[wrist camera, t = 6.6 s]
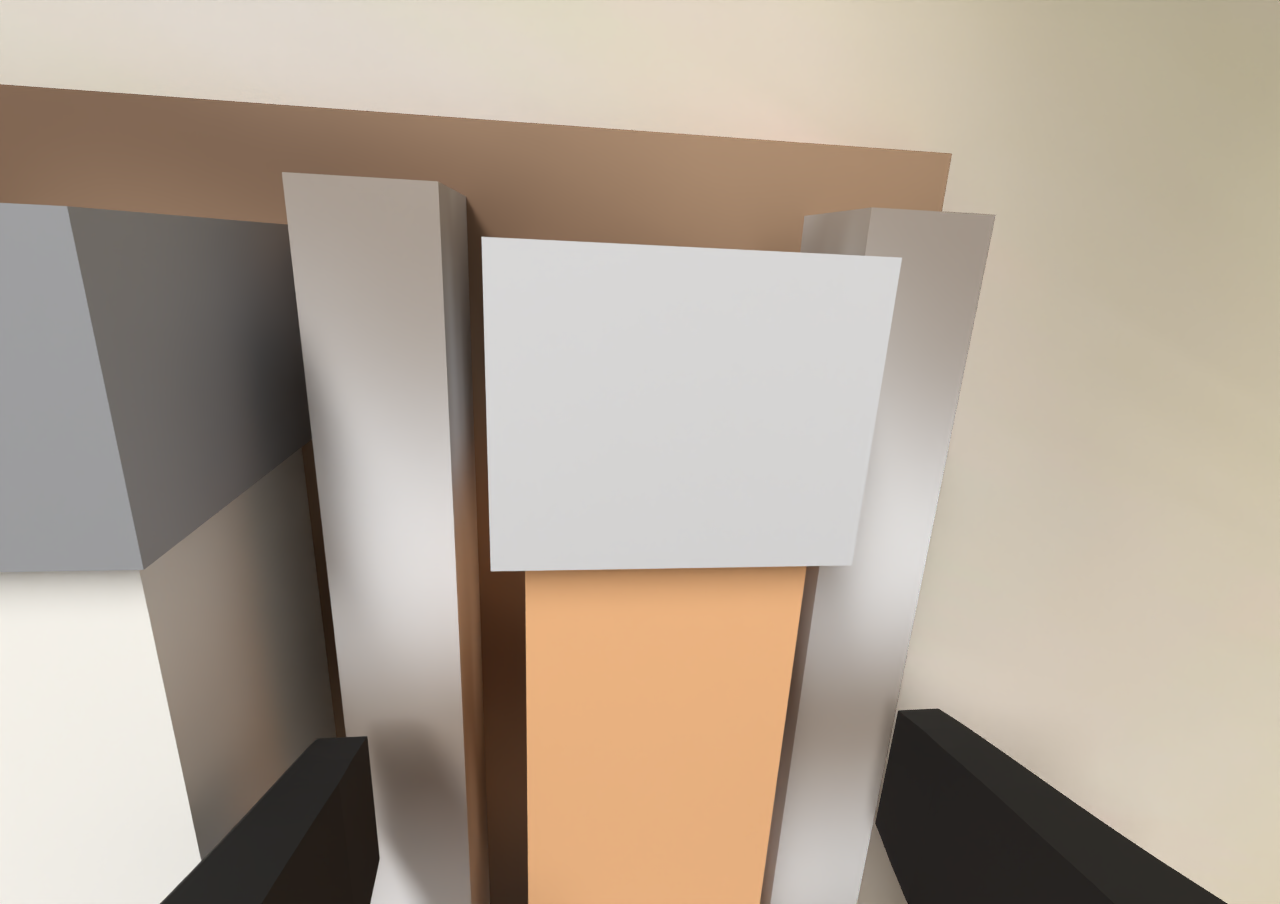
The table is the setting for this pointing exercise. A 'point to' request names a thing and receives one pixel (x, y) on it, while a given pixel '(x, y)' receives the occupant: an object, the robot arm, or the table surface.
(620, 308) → the capped square column
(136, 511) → the capped white pillar
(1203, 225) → the table surface
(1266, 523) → the table surface
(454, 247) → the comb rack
